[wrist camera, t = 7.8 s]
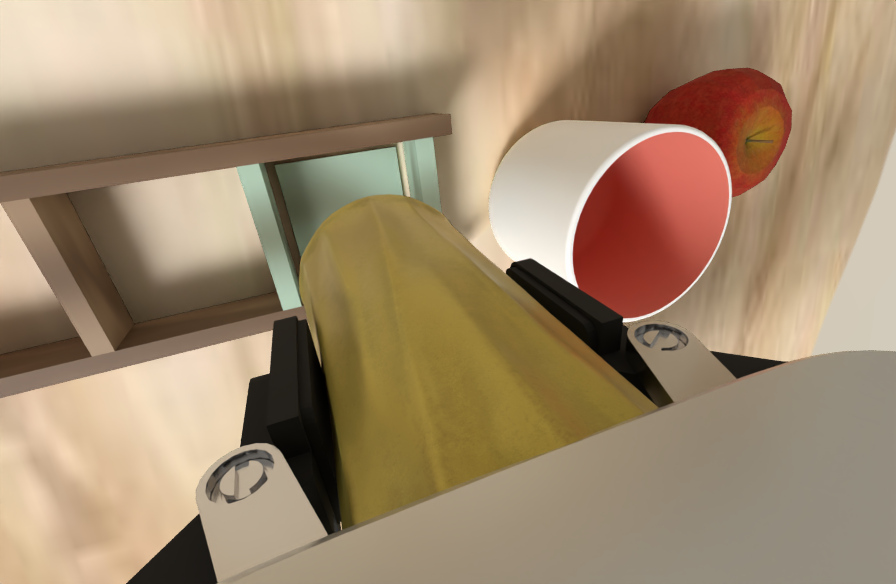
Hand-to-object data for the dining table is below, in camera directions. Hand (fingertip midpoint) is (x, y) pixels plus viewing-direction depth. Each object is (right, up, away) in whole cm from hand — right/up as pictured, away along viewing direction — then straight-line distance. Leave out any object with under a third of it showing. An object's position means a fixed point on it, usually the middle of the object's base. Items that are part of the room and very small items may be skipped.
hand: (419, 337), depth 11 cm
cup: (+8, +8, +18) cm, 21 cm away
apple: (+17, +13, +19) cm, 28 cm away
